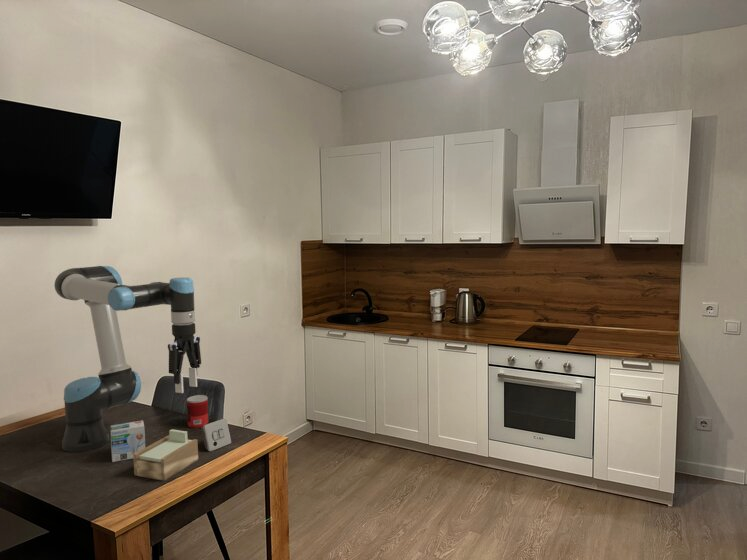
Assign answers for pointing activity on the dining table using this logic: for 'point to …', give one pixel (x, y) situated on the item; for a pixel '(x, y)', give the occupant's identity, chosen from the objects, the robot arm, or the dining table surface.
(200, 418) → the canned food
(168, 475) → the pencil box
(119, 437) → the light bulb box
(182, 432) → the lid
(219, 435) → the electrical switch
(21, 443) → the dining table surface
